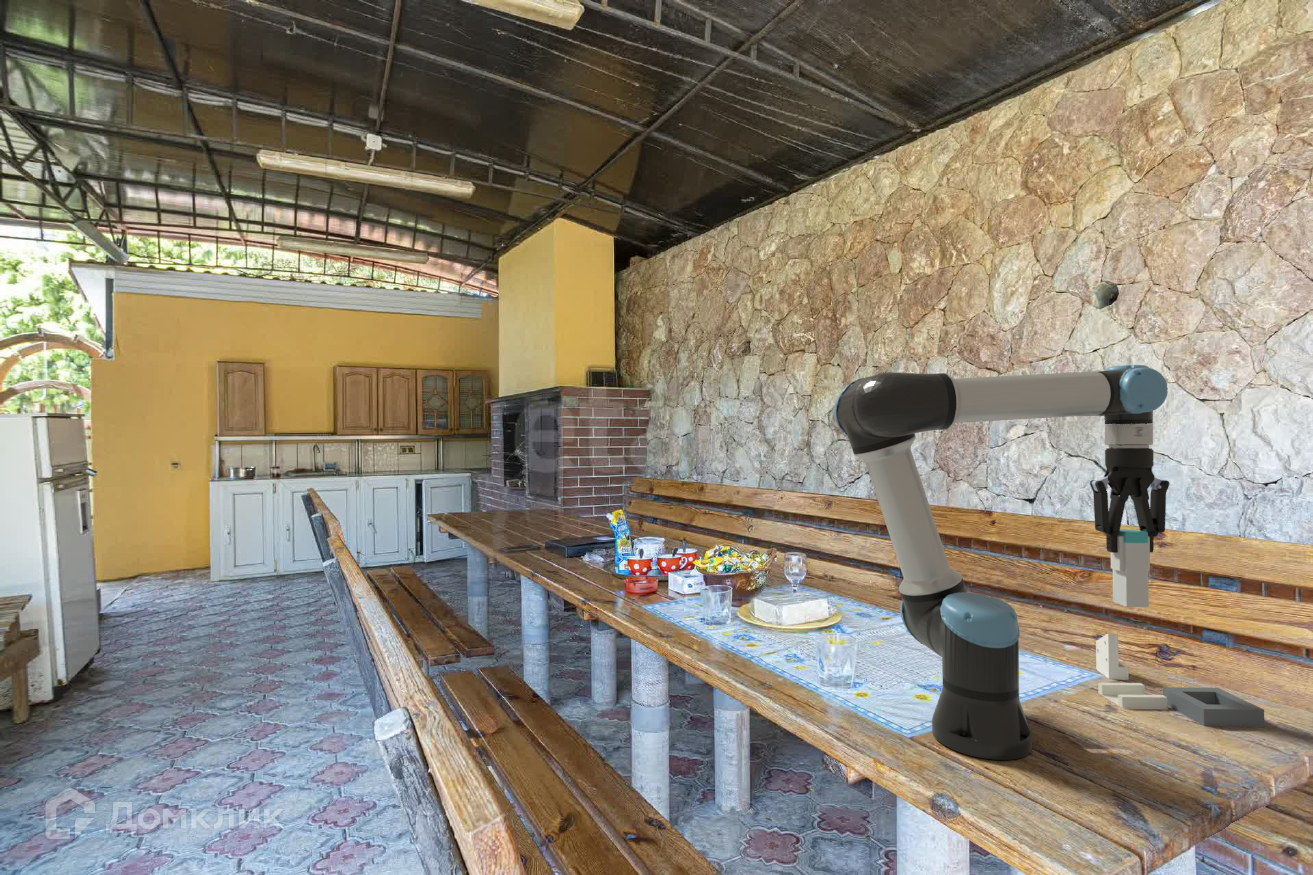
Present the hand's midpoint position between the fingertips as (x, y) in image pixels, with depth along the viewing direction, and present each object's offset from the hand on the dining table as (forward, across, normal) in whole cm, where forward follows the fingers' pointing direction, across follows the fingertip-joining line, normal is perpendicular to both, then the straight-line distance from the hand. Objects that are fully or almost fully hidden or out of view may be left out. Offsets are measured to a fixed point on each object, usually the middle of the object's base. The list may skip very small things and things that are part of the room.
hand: (1130, 569), depth 126 cm
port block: (+26, +10, -6) cm, 28 cm away
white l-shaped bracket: (+26, +5, +14) cm, 30 cm away
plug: (+7, 0, 0) cm, 7 cm away
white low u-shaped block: (+26, 0, 0) cm, 26 cm away
